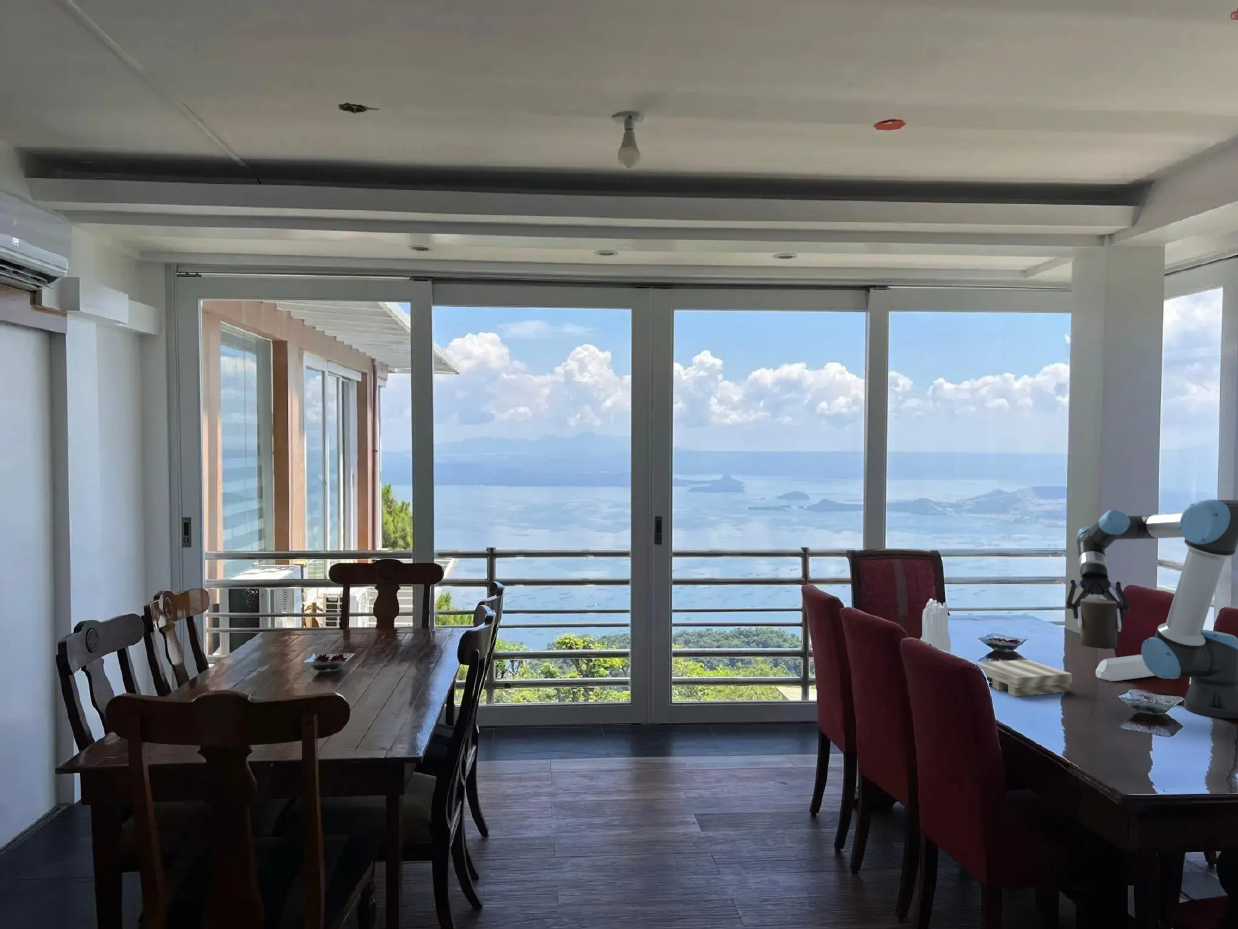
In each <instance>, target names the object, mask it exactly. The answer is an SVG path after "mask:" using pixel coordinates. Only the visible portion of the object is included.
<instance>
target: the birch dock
mask: <svg viewBox="0 0 1238 929" xmlns="http://www.w3.org/2000/svg"><path fill="white" fill-rule="evenodd" d="M976 664H977V665H979V666H980V667H981V669H983V670H984V672H985V674H986V676H987V680H988V681H989V682H990V684H991V682H992V688H993V687H994V688H993V689H995V688H996V689H995V690H998V691H1004V689H1007V692H1008V695H1010V694H1011V695H1010V696H1013V697H1023V696H1025V697H1027V696H1033V695H1032V694H1038V695H1040V694H1039V693H1050V694H1057V693H1056V692H1062V693H1069V692H1068V691H1070V689H1071V688H1070V687H1071V685H1070V684H1073V674H1072V673H1071V672H1068V671H1065V670H1061V669H1058V668H1055V667H1052V666H1049V665H1046V664H1043V663H1039V662H1037V661H1034V660H1030V659H1015V660H1002V661H1001V660H999V661H986V662H975V665H976ZM990 684H989V685H990ZM1066 691H1067V692H1066ZM1054 692H1055V693H1054ZM1070 692H1071V691H1070Z"/></svg>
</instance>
